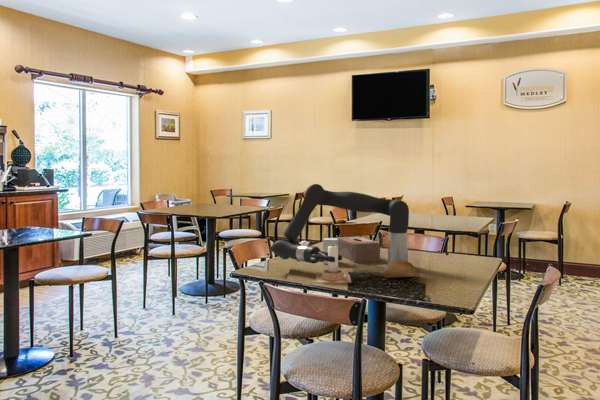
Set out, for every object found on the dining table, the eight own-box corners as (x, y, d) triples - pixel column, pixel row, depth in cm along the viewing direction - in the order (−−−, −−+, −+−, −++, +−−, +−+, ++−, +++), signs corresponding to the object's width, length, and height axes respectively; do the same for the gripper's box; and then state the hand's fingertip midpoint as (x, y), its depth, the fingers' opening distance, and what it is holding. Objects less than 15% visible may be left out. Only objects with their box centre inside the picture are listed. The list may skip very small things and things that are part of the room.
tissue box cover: (379, 261, 256) (380, 242, 255) (354, 263, 251) (354, 244, 251) (359, 253, 280) (359, 236, 280) (336, 254, 276) (336, 237, 275)
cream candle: (337, 272, 212) (337, 243, 211) (338, 275, 208) (338, 245, 207) (327, 272, 212) (327, 243, 211) (327, 275, 208) (327, 245, 207)
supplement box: (337, 264, 247) (337, 240, 246) (322, 264, 249) (322, 239, 248) (338, 261, 254) (338, 237, 254) (324, 261, 256) (324, 237, 255)
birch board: (349, 277, 217) (349, 274, 217) (351, 286, 202) (351, 282, 202) (316, 277, 218) (316, 274, 218) (315, 285, 203) (315, 282, 203)
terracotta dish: (343, 275, 215) (343, 269, 214) (344, 280, 205) (344, 273, 205) (322, 275, 215) (322, 269, 215) (322, 280, 206) (322, 273, 205)
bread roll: (419, 279, 214) (420, 261, 213) (386, 280, 212) (386, 262, 212) (412, 274, 223) (412, 257, 223) (381, 275, 222) (381, 258, 221)
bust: (315, 263, 262) (314, 245, 268) (316, 257, 255) (315, 238, 262) (293, 263, 261) (293, 245, 267) (293, 257, 255) (293, 238, 261)
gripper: (297, 247, 214) (327, 252, 202) (318, 243, 224) (348, 248, 213) (297, 264, 214) (327, 270, 203) (318, 259, 225) (348, 264, 213)
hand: (337, 258), depth 208 cm, fingers closed on cream candle, 4 cm apart
